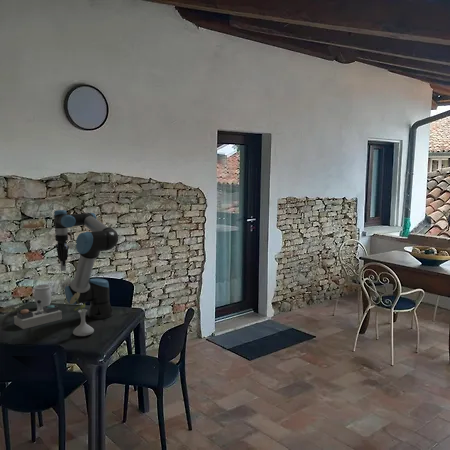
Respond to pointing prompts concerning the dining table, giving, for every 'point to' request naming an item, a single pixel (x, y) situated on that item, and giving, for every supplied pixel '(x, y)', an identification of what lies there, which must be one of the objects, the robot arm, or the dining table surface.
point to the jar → (43, 295)
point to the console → (38, 317)
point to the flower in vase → (83, 327)
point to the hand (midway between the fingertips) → (63, 270)
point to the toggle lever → (38, 305)
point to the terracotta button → (24, 311)
